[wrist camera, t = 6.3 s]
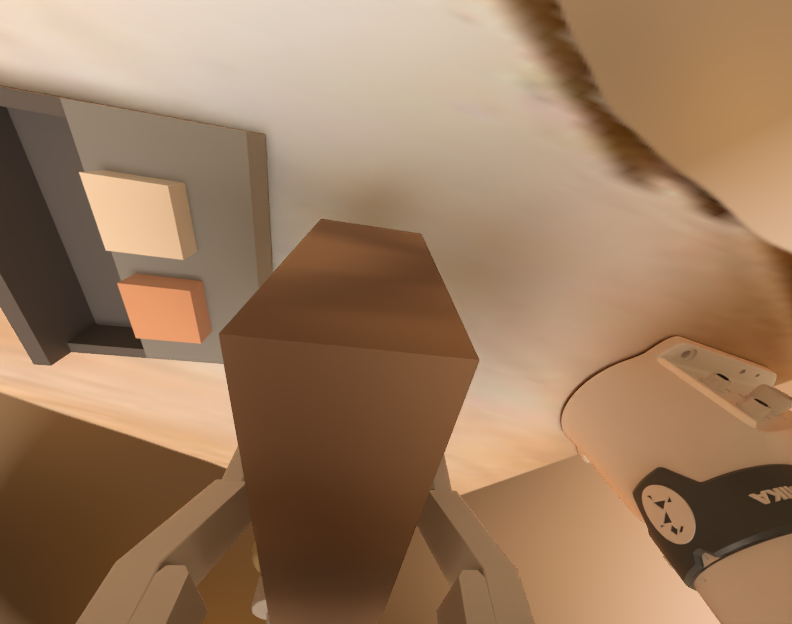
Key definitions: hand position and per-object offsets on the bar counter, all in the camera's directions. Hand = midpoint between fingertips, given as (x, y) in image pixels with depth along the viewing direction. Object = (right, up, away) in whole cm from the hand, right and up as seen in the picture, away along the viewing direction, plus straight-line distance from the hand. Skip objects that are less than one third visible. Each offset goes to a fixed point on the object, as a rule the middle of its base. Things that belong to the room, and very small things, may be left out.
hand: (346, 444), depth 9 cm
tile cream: (-12, +10, +7) cm, 17 cm away
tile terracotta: (-13, +5, +10) cm, 17 cm away
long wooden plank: (0, +1, +2) cm, 3 cm away
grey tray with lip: (-15, +9, +11) cm, 20 cm away
